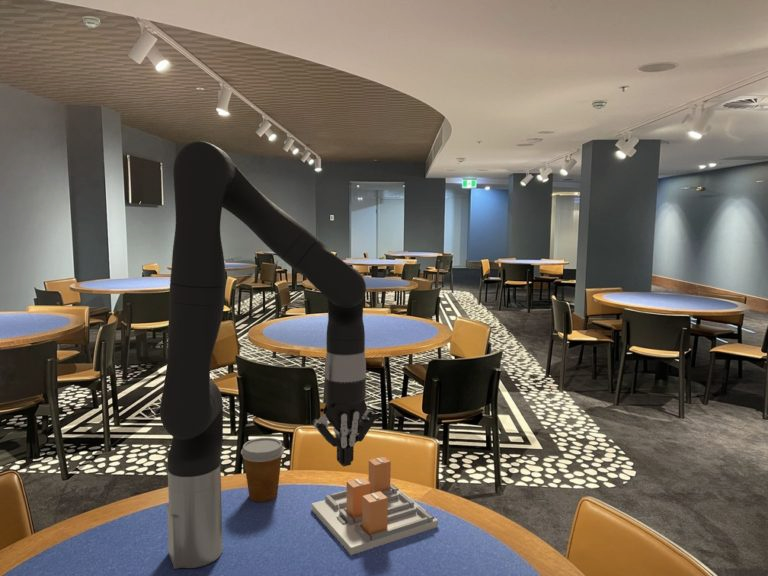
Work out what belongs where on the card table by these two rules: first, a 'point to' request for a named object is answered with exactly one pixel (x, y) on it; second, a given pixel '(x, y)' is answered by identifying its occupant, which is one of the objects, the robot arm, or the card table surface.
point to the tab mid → (356, 496)
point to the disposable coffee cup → (262, 467)
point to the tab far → (379, 474)
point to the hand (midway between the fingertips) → (345, 464)
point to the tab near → (374, 512)
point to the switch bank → (349, 532)
